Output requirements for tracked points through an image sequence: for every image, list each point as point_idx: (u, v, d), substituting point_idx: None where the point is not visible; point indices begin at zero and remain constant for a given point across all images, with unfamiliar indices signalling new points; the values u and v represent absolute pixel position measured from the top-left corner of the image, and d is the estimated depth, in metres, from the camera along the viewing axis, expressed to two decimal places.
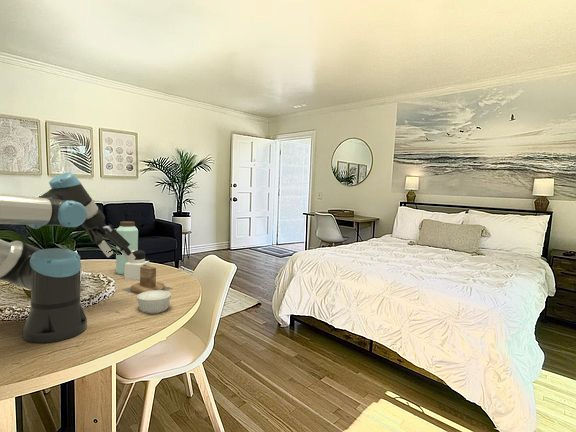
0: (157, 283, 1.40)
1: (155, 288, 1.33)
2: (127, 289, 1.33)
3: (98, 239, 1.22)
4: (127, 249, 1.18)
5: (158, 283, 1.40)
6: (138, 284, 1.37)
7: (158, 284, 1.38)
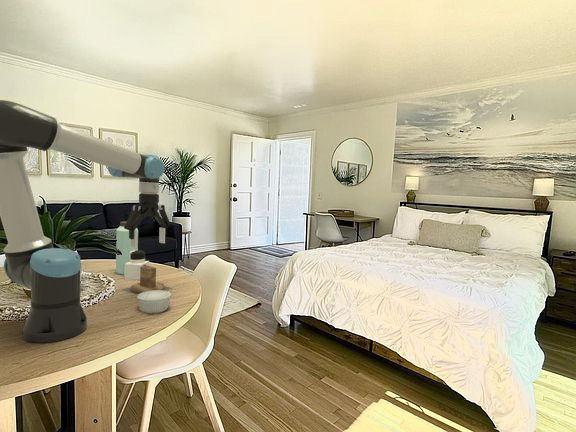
0: (157, 283, 1.40)
1: (155, 288, 1.33)
2: (127, 289, 1.33)
3: (158, 222, 1.38)
4: (130, 233, 1.26)
5: (158, 283, 1.40)
6: (138, 284, 1.37)
7: (158, 284, 1.38)
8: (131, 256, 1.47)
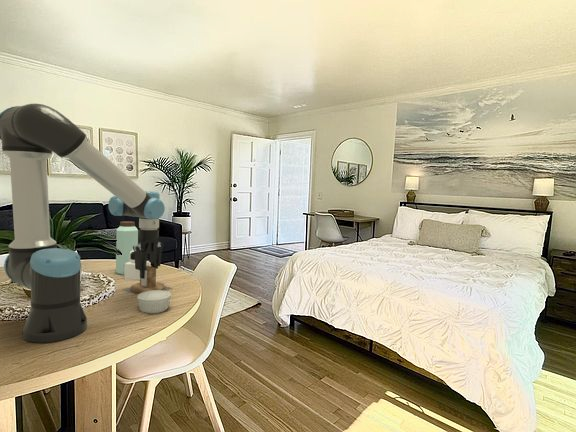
0: (157, 283, 1.40)
1: (155, 288, 1.33)
2: (127, 289, 1.33)
3: (151, 260, 1.36)
4: (141, 272, 1.32)
5: (158, 283, 1.40)
6: (138, 284, 1.37)
7: (158, 284, 1.38)
8: (131, 256, 1.47)
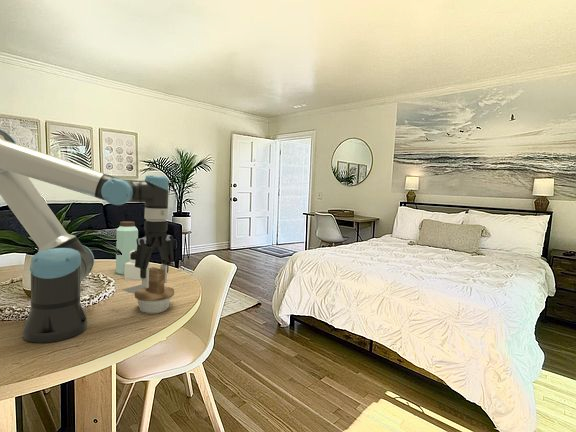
0: (166, 288, 1.20)
1: (164, 294, 1.13)
2: (127, 289, 1.33)
3: (161, 256, 1.17)
4: (141, 271, 1.10)
5: (167, 288, 1.20)
6: (144, 289, 1.17)
7: (167, 289, 1.18)
8: (131, 256, 1.47)
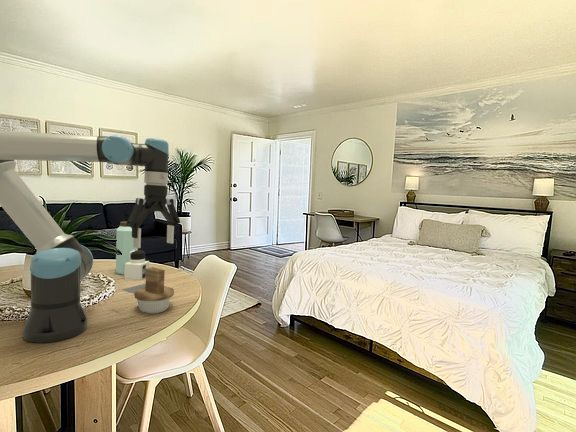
0: (165, 288, 1.20)
1: (163, 294, 1.13)
2: (127, 289, 1.33)
3: (166, 218, 1.19)
4: (133, 230, 1.06)
5: (166, 288, 1.20)
6: (143, 289, 1.17)
7: (166, 289, 1.18)
8: (131, 256, 1.47)
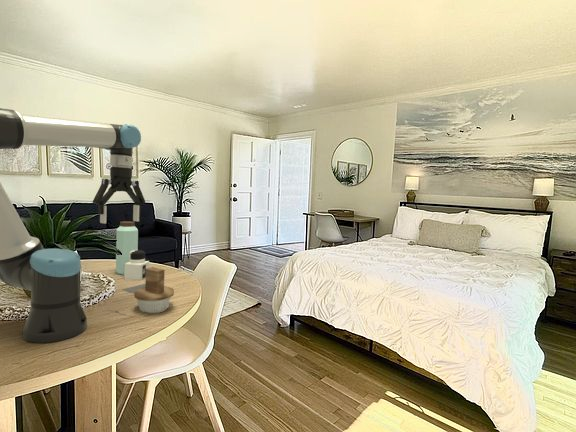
0: (165, 287, 1.20)
1: (164, 294, 1.13)
2: (127, 289, 1.33)
3: (132, 199, 1.31)
4: (99, 207, 1.19)
5: (166, 287, 1.20)
6: (143, 289, 1.17)
7: (166, 289, 1.18)
8: (131, 256, 1.47)
